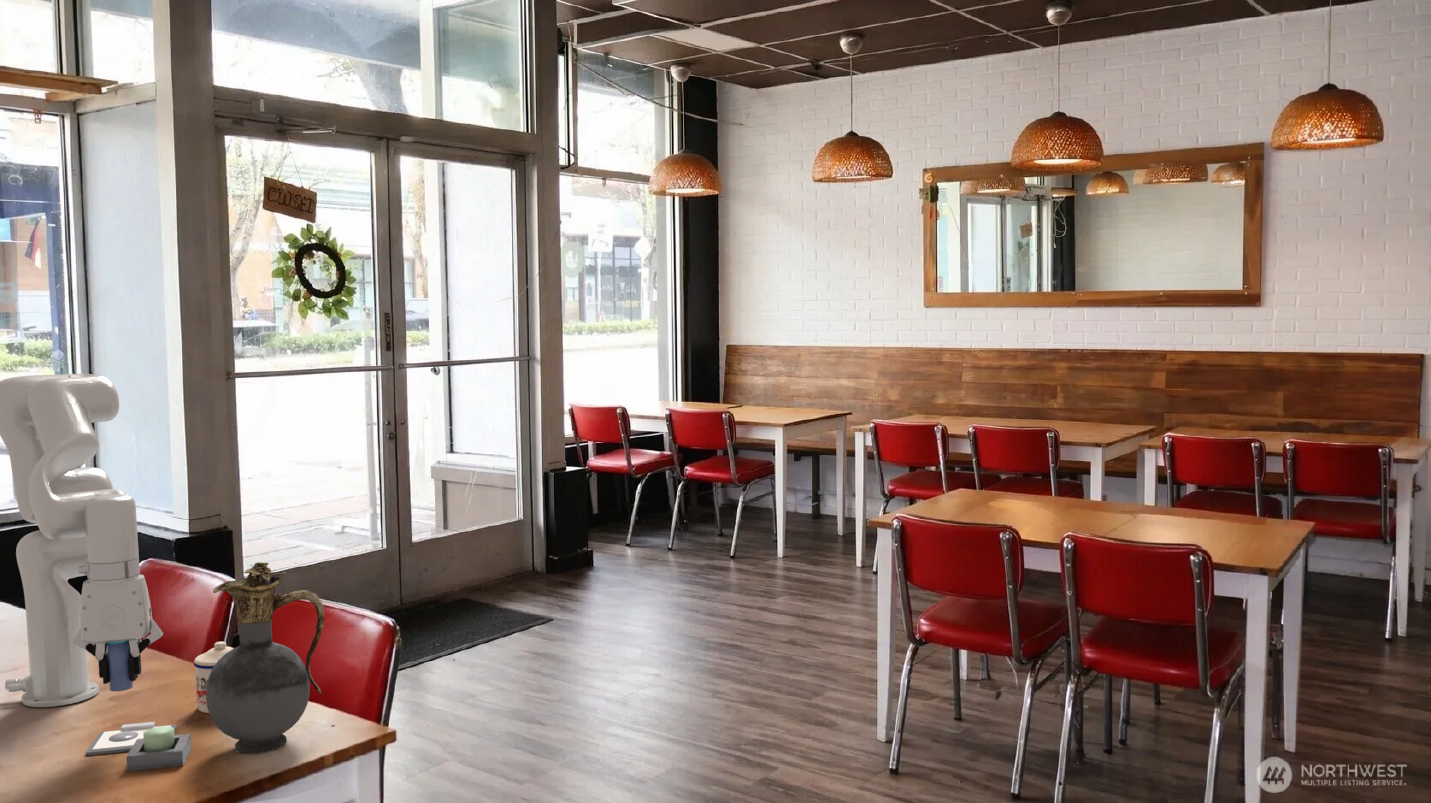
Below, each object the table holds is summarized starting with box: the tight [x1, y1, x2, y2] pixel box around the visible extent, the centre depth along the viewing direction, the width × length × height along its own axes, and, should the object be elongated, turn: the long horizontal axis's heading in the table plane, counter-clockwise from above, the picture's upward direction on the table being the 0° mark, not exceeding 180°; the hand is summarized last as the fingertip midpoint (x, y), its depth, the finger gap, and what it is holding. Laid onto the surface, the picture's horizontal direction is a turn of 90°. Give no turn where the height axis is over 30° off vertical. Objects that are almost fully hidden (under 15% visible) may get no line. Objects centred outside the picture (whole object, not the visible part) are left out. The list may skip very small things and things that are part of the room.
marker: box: [106, 640, 134, 692], centre depth 198 cm, size 4×4×10 cm
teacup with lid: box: [193, 641, 235, 714], centre depth 215 cm, size 12×9×12 cm
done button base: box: [126, 733, 192, 773], centre depth 190 cm, size 8×8×2 cm
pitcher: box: [206, 561, 325, 755], centre depth 195 cm, size 11×19×30 cm, turn 127°
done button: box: [143, 726, 175, 752], centre depth 190 cm, size 4×4×3 cm
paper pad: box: [85, 721, 178, 757], centre depth 199 cm, size 12×10×1 cm
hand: (120, 679), depth 198 cm, fingers closed on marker, 3 cm apart
